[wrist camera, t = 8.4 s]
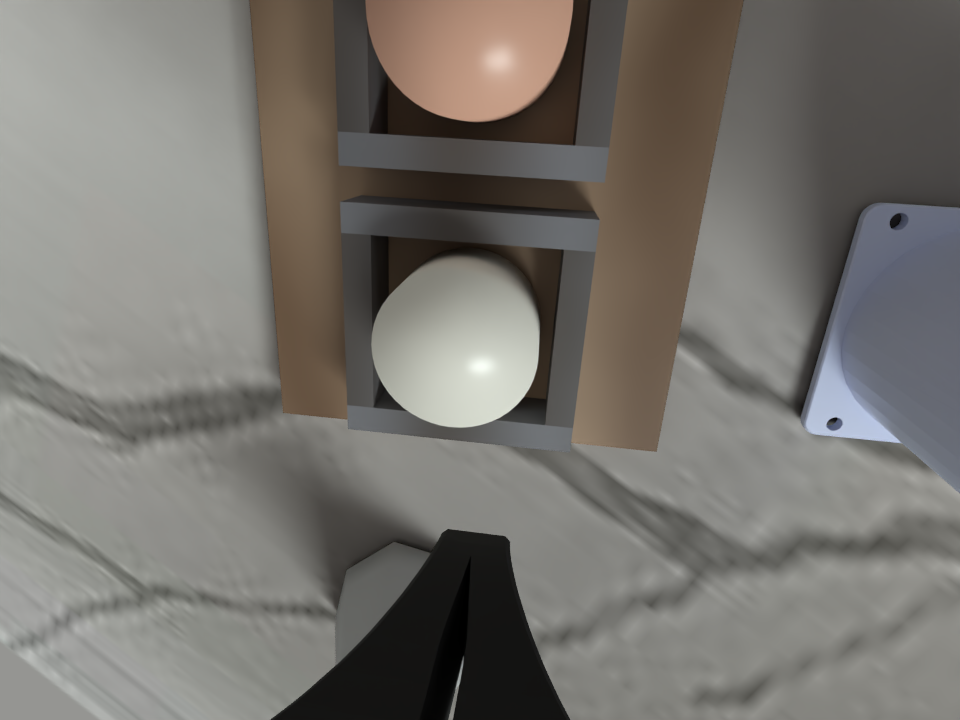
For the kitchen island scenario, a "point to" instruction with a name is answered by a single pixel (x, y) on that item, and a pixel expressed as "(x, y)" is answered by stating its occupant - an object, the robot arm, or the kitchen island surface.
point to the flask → (374, 593)
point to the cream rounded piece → (459, 338)
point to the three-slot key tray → (494, 209)
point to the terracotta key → (471, 52)
